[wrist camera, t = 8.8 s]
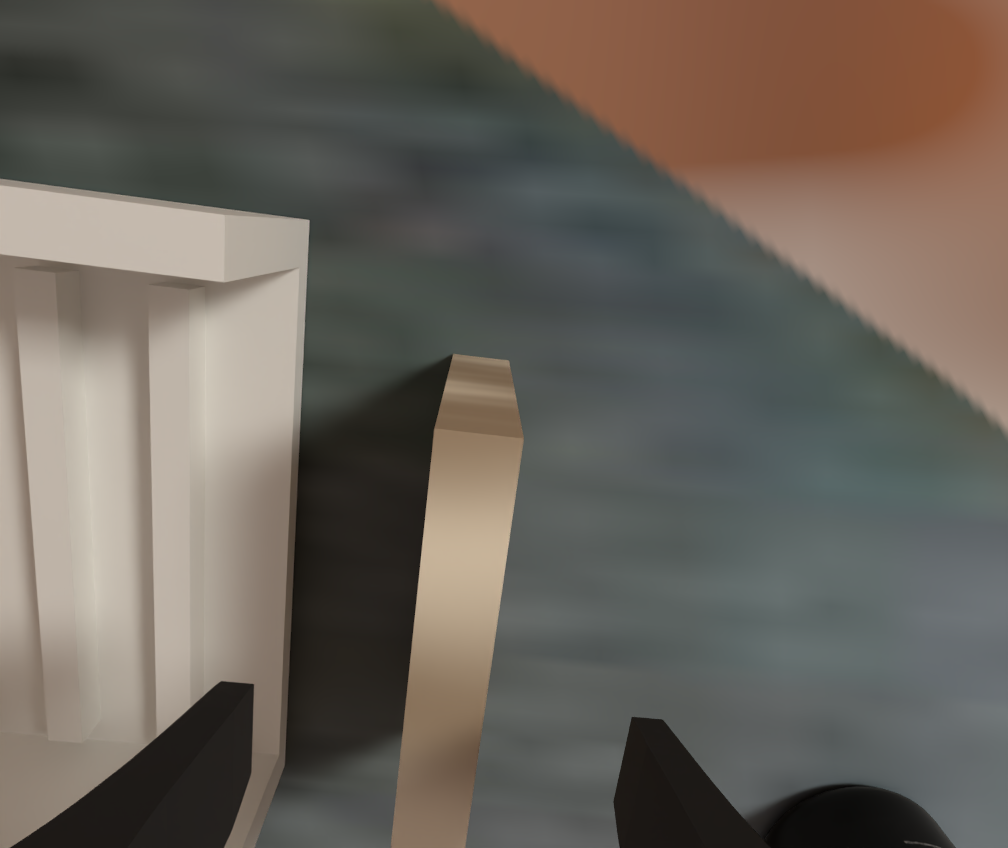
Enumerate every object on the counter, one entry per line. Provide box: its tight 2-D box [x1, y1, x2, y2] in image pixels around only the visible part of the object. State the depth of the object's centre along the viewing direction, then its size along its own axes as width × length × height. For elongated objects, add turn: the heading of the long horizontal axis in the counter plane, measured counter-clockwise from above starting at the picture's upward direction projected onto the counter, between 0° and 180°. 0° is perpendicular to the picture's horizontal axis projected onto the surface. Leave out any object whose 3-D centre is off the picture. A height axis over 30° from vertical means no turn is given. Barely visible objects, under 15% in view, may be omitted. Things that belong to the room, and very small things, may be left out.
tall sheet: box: [391, 354, 524, 848], centre depth 17 cm, size 12×2×8 cm, turn 173°
